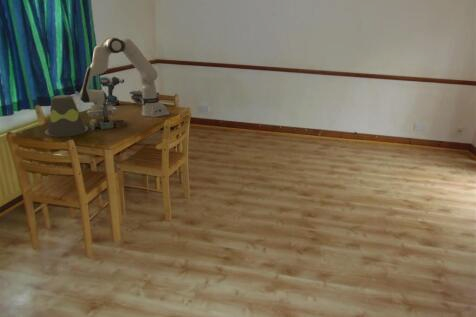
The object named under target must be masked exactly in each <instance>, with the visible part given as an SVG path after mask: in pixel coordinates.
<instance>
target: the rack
mask: <svg viewBox="0 0 476 317" xmlns="http://www.w3.org/2000/svg"><path fill="white" fill-rule="evenodd" d="M112 122H113V125H114V127H115V128H121V127H128V122H127V121H126V120H125V119H116V120H112Z"/></svg>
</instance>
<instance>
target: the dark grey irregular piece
mask: <svg viewBox="0 0 476 317" xmlns="http://www.w3.org/2000/svg"><path fill="white" fill-rule="evenodd" d="M129 95H130V98H131V100H132V101H133V102H134V103H135V104H136V105H137V106H143V104H142V90H132V91H129ZM159 95H160V92H157V91H156V97H158V98H159Z"/></svg>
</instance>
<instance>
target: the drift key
mask: <svg viewBox="0 0 476 317" xmlns="http://www.w3.org/2000/svg"><path fill="white" fill-rule="evenodd" d="M98 121H99V120H98V119H96V118H92V119H89V122H92V123H93V124H94V127H95V128H100V127H99V123H98Z"/></svg>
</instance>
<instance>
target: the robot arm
mask: <svg viewBox="0 0 476 317" xmlns="http://www.w3.org/2000/svg"><path fill="white" fill-rule="evenodd" d="M121 52H122V53H123V54H124V55H125V57H126V58H127V59H128V61H129V62H130V64H132V66H133V67H134V68H135V69H136V70H137V71H138V73H139V80H140V86H141V91H142V99H141V100H142V104H143V105H142V110H141V111H142V112H141V116H144V117H150V118H151V117H152V118H156V117H161V116H166V115H170V112H169V110H167V107H166V105H165V104H163V103H162V102H161V100H162V99H161V97H159V96H158V97H156V92H157V86H156V83H155V81H156V80H157V79H158V75H159V73H158V71H157V70H156V68H155V67H154V66H153V65H152V63H150V61H149V60H148V59H147V58H146V57H145V54H143V52H142V51H141V50H140V49H139V47H138V46H137V45H136V44H135V42H134V41H133V40H131V38H124V39H119V38H118V37H108V38H106V39H105V40H104V42H103V43H102V44H100V45H96V46H95V47H94V49H93V53H92V54H93V55H92V61H91V64H90V66H88V67H87V68H86V71H85V73H84V74H85V75H84V78H83V82H82V87H81V89H80V93H79V100H80V101H82V103H85V104H86V103H88V104H89V103H90V105H89V109H88V110H87V111H86V114H88V117H103V108H102V105H103V101H106V103H107V96H108V95H107V93H106V92H105V91H104V90H102V89H100V90H99V89H91V88H90V84H91V80H92V78H93V77H94V76H97V75H102V74H104V73H106V71H107V70H108V69H109V62H110V61H109V58H110V56H111V54H118V53H121ZM106 105H107V104H106ZM107 110H108V116H110V115H112V116H114V115H117V114H118V112H119V111H118V108H117V107H115V106H114V105H107Z"/></svg>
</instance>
